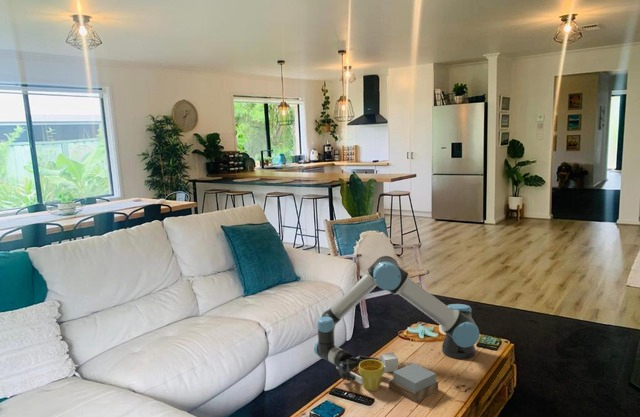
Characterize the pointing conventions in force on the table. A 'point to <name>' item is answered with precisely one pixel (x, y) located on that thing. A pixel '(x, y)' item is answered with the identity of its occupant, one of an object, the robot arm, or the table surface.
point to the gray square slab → (414, 377)
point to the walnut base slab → (411, 395)
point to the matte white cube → (390, 361)
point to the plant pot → (371, 373)
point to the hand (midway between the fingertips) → (373, 375)
